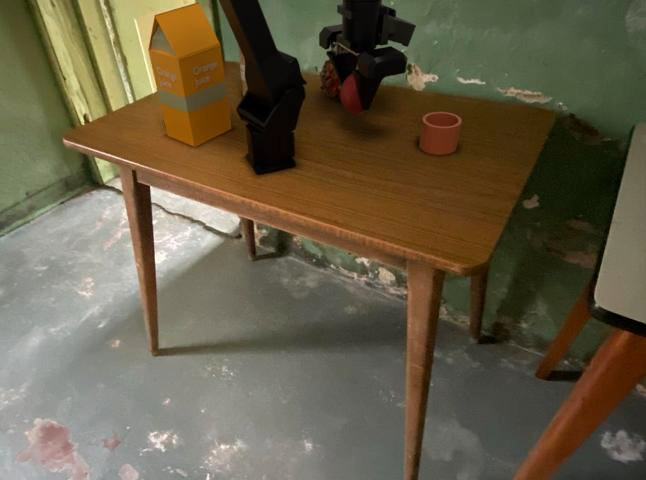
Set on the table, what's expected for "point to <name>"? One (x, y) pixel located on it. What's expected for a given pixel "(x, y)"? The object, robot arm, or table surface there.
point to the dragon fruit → (330, 80)
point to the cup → (439, 133)
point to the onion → (351, 96)
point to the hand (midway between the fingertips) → (357, 103)
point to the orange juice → (189, 75)
